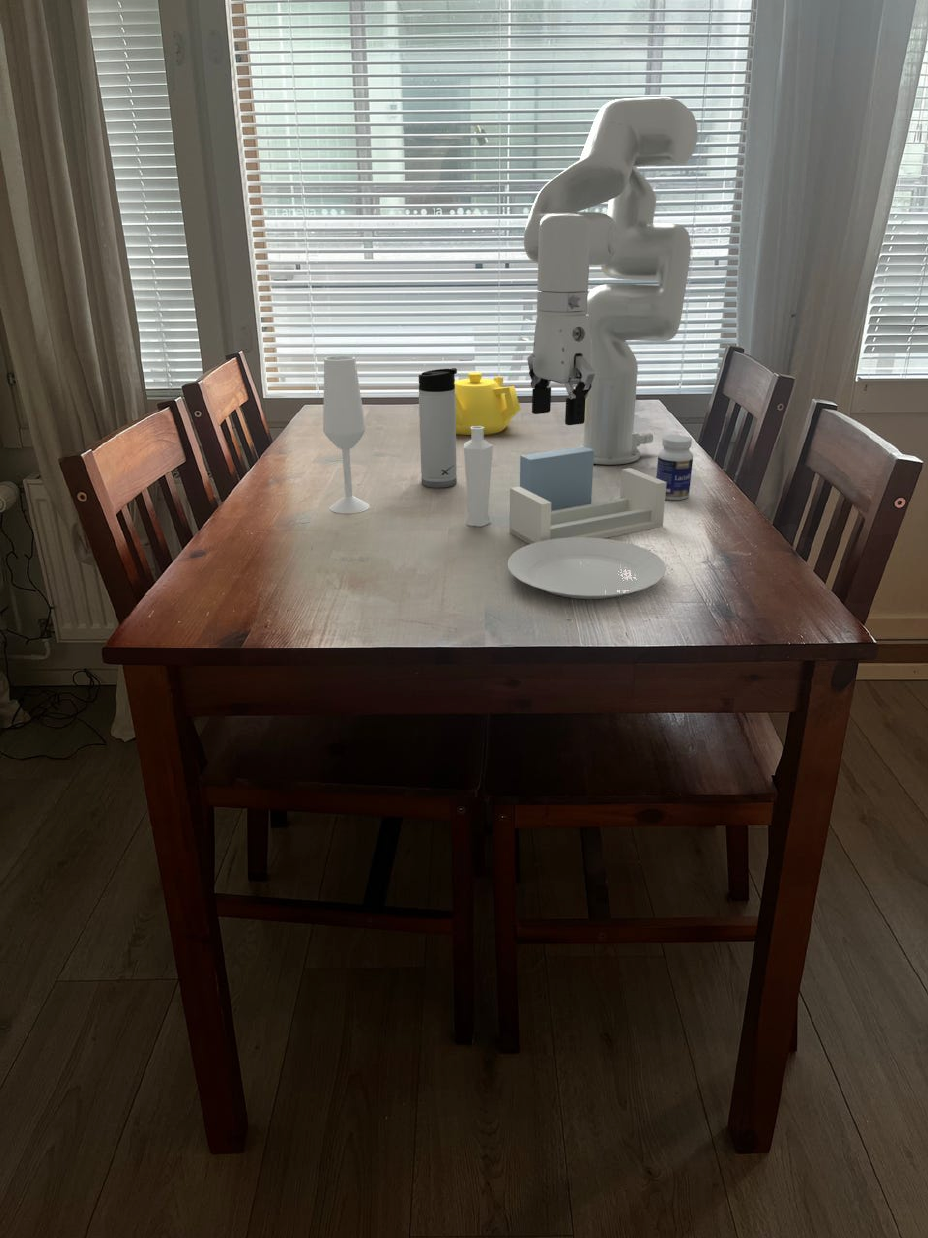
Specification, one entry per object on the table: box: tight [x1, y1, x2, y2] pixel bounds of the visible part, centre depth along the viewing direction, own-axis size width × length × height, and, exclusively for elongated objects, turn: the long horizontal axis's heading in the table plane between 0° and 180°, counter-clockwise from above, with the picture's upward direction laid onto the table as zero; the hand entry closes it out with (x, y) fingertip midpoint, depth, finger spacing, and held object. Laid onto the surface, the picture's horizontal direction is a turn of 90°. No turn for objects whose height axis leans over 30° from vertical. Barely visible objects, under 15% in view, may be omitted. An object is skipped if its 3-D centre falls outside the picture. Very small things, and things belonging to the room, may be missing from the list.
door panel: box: [519, 445, 594, 511], centre depth 148 cm, size 12×3×9 cm, turn 117°
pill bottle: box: [655, 434, 694, 501], centre depth 152 cm, size 6×6×10 cm
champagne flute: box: [322, 355, 371, 514], centre depth 145 cm, size 7×7×24 cm
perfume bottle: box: [463, 426, 494, 528], centre depth 140 cm, size 5×4×15 cm
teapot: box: [454, 371, 521, 436], centre depth 197 cm, size 17×17×12 cm
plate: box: [507, 537, 667, 600], centre depth 121 cm, size 21×21×2 cm
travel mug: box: [418, 367, 458, 489], centre depth 158 cm, size 6×7×20 cm
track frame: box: [509, 467, 667, 545], centre depth 138 cm, size 22×9×7 cm, turn 117°
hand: (557, 418), depth 143 cm, fingers open, 9 cm apart
